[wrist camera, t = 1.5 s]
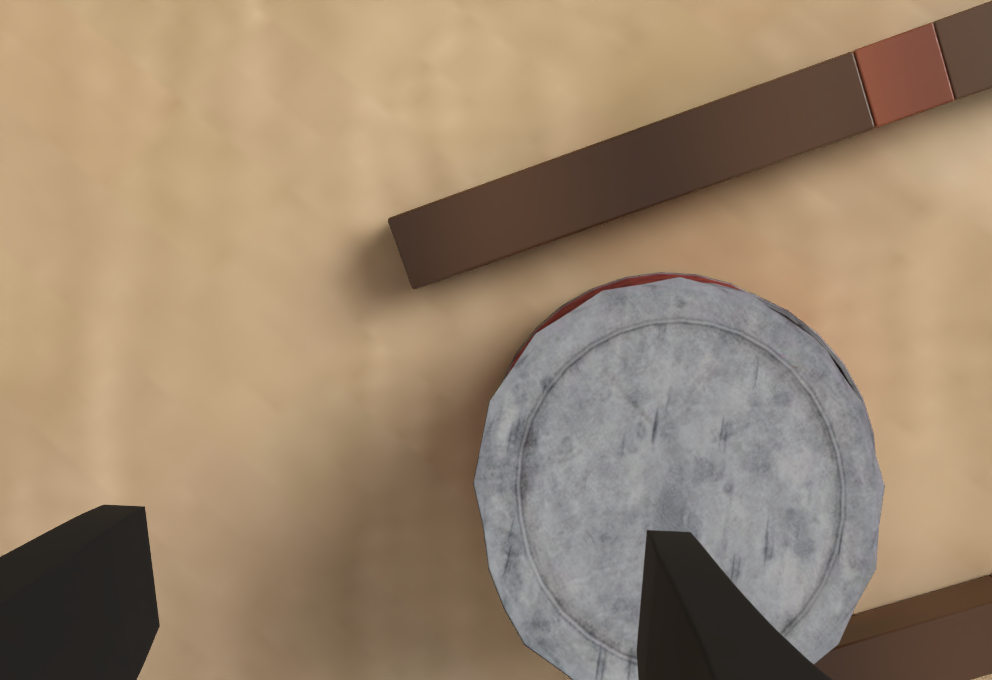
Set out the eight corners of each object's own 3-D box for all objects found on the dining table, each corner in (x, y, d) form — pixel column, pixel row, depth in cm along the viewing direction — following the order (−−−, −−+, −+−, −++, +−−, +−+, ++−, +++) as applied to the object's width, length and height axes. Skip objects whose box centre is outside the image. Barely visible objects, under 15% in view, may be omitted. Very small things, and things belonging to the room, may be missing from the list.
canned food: (504, 348, 31) (413, 216, 22) (819, 308, 29) (867, 145, 20) (526, 714, 27) (428, 745, 18) (891, 696, 25) (993, 720, 16)
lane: (591, 756, 28) (593, 788, 26) (395, 217, 26) (386, 218, 24) (1352, 538, 25) (1401, 558, 24) (1203, -73, 23) (1246, -92, 22)
